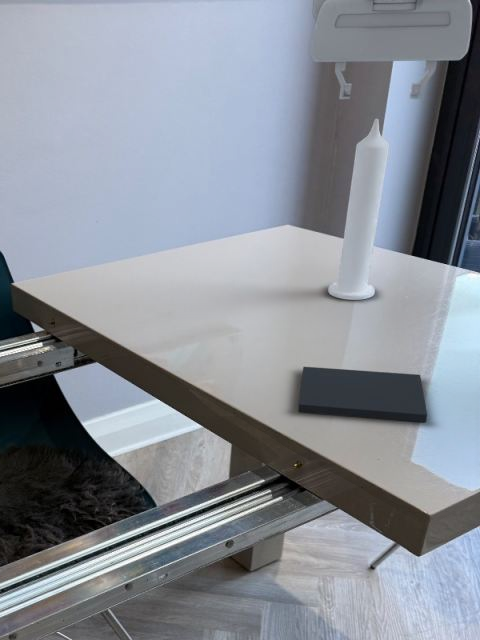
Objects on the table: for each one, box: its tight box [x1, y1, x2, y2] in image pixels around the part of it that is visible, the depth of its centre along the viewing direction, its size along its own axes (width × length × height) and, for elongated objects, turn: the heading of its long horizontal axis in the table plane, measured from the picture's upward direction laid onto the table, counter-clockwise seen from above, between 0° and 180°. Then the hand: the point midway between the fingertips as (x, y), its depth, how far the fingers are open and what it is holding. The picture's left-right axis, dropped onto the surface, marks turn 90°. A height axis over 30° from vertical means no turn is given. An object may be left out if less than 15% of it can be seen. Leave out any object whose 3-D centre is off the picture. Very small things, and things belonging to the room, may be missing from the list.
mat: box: [297, 366, 428, 423], centre depth 94 cm, size 14×11×1 cm
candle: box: [327, 118, 390, 301], centre depth 117 cm, size 7×7×25 cm
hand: (379, 98), depth 109 cm, fingers open, 8 cm apart
